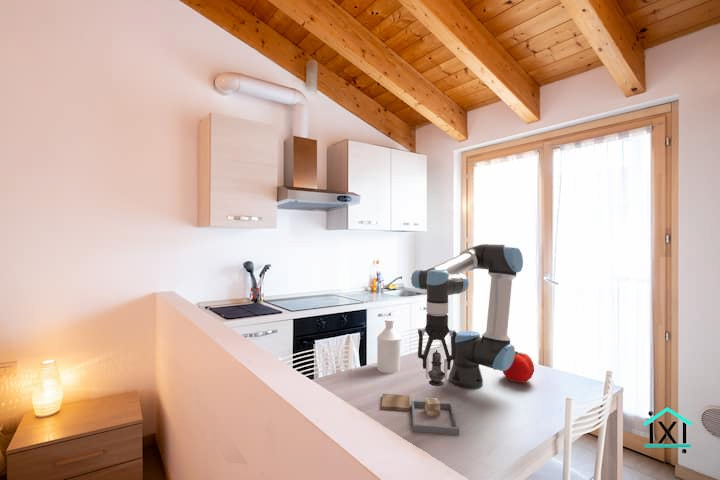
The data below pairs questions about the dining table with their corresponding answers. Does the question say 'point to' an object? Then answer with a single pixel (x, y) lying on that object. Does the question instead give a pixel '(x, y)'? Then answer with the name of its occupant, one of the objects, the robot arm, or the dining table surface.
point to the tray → (431, 427)
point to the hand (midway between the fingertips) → (436, 377)
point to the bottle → (388, 349)
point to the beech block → (432, 406)
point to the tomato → (520, 368)
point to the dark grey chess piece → (436, 371)
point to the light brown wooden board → (396, 402)
